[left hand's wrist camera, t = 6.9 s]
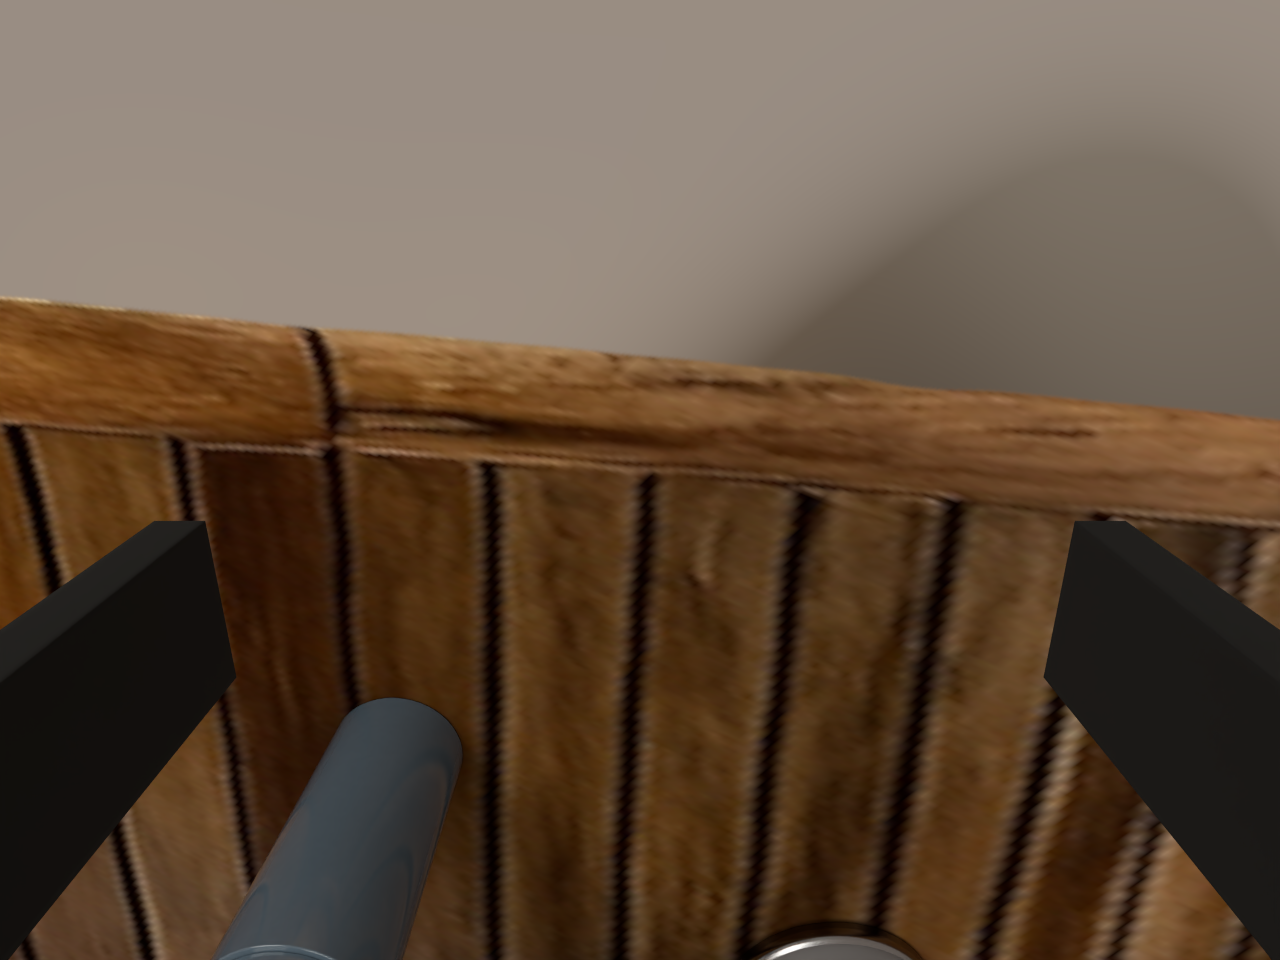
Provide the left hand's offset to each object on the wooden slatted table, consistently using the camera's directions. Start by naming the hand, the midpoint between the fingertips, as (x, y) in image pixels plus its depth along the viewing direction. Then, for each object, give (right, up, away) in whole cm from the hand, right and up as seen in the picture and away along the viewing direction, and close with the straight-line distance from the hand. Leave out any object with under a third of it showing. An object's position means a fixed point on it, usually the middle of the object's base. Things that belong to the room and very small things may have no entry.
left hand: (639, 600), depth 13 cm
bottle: (-15, -15, +39) cm, 44 cm away
